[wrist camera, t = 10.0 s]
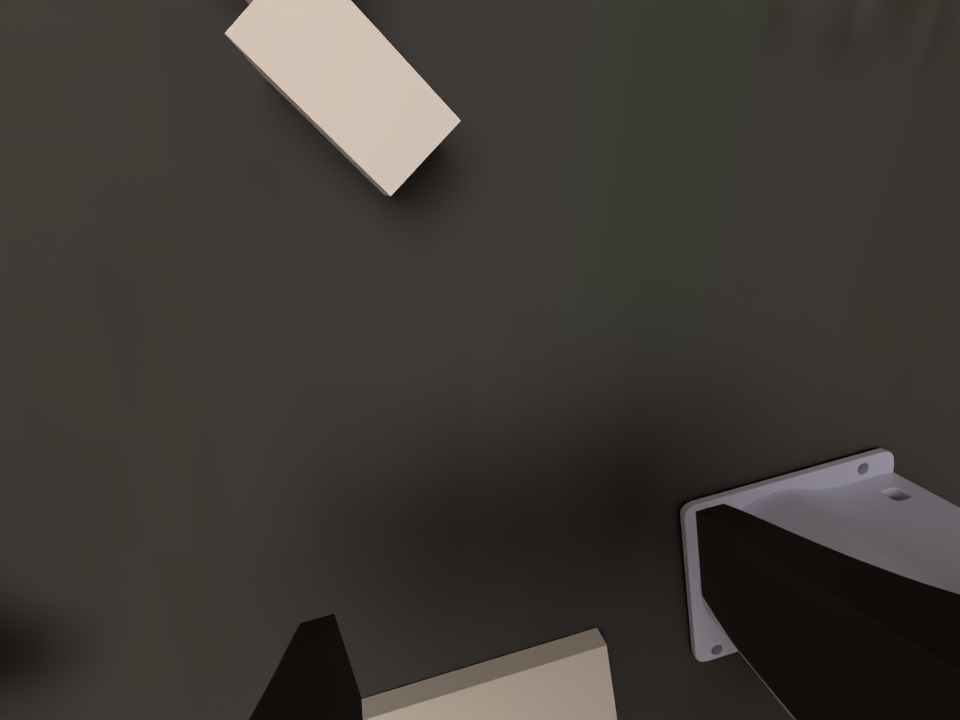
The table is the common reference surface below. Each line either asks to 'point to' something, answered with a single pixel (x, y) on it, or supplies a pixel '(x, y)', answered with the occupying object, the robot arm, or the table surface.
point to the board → (512, 687)
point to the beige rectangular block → (346, 83)
